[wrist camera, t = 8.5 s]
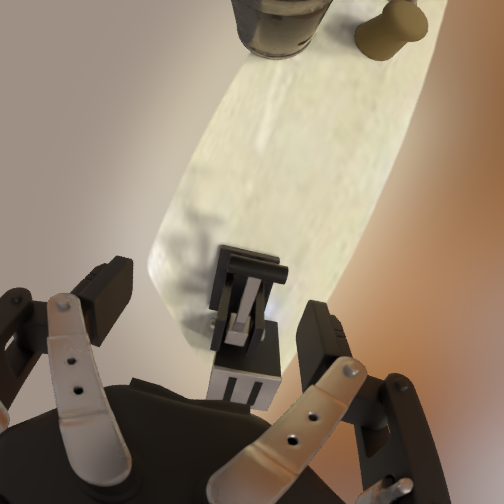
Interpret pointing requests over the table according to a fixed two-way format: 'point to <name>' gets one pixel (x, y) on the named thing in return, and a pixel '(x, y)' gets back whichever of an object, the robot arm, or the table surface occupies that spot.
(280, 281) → the switch lever
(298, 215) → the table surface
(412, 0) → the condiment
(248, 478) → the robot arm
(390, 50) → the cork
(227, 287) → the switch bracket
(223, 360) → the toaster body
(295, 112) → the table surface
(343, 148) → the table surface
